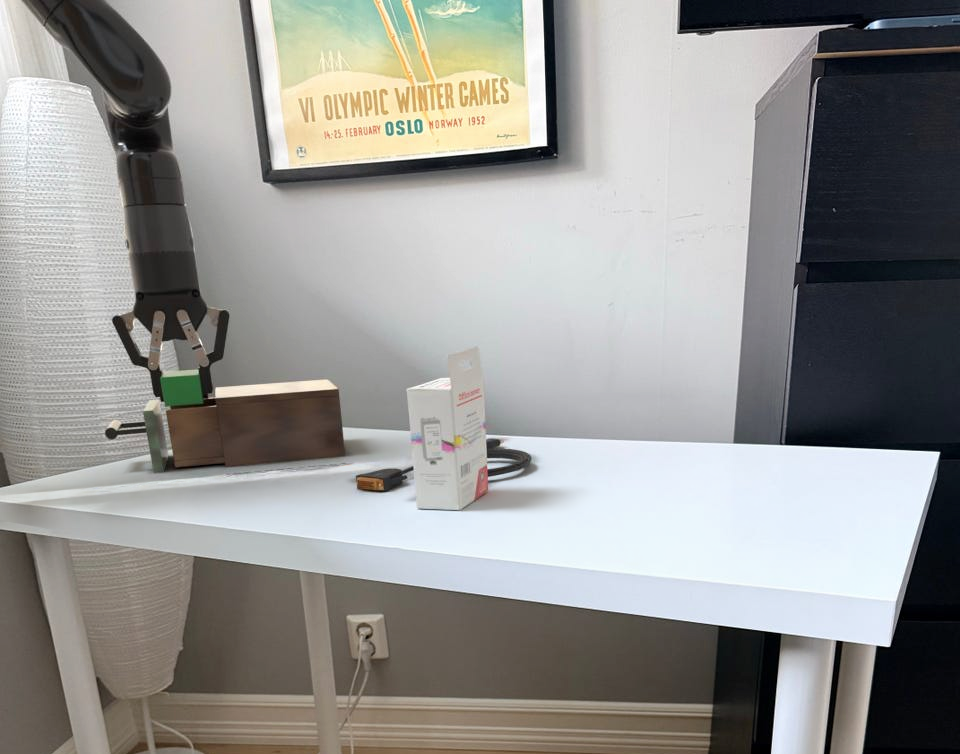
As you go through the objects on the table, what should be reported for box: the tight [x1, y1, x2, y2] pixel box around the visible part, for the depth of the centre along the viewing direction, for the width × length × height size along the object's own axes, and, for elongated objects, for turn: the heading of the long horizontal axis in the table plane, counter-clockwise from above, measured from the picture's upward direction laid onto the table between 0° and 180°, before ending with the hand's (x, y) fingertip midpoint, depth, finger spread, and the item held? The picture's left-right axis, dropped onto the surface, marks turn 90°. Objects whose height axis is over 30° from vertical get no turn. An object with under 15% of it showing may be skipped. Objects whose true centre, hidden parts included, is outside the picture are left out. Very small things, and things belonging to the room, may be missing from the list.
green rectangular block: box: [160, 369, 204, 408], centre depth 114 cm, size 4×8×3 cm, turn 15°
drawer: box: [104, 396, 225, 474], centre depth 116 cm, size 18×11×7 cm, turn 105°
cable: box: [355, 438, 532, 493], centre depth 108 cm, size 14×28×2 cm, turn 146°
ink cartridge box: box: [405, 345, 489, 511], centre depth 92 cm, size 9×5×15 cm, turn 160°
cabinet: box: [214, 379, 347, 475], centre depth 118 cm, size 15×13×9 cm
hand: (184, 398), depth 114 cm, fingers closed on green rectangular block, 4 cm apart
